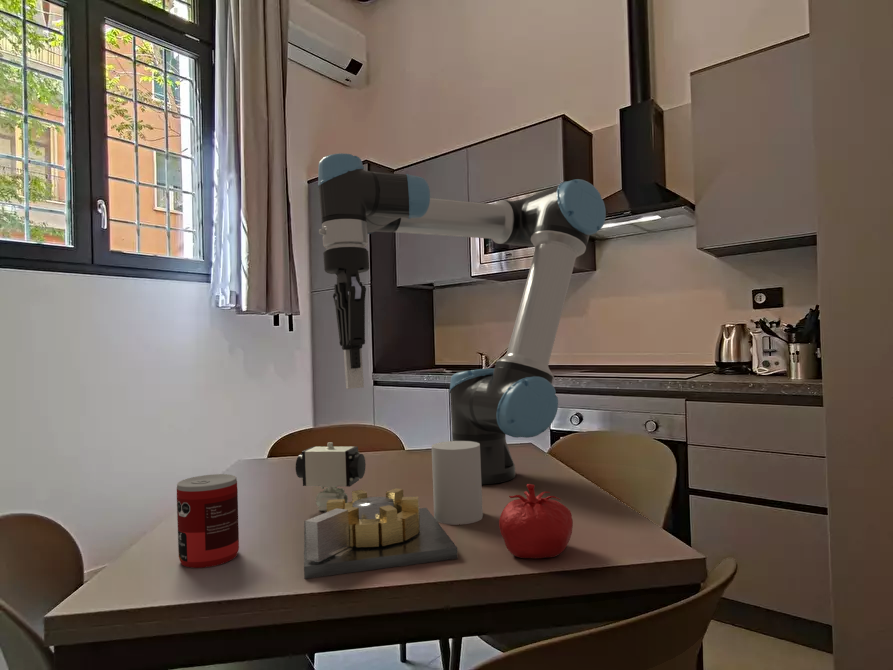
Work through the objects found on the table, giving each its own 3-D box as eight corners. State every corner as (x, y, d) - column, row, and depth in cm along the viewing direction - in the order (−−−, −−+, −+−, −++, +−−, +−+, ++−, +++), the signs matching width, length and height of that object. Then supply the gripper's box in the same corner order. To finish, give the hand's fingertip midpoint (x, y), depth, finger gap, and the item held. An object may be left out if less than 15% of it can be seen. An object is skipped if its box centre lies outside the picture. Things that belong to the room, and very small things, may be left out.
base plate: (426, 516, 96) (425, 480, 96) (457, 558, 76) (455, 513, 76) (304, 530, 91) (303, 492, 91) (304, 578, 71) (302, 530, 71)
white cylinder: (488, 511, 97) (485, 441, 98) (474, 526, 90) (472, 450, 90) (443, 508, 100) (441, 440, 100) (427, 522, 92) (424, 448, 93)
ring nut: (366, 513, 93) (365, 482, 93) (436, 523, 86) (435, 490, 86) (275, 552, 76) (274, 515, 76) (353, 569, 69) (352, 528, 69)
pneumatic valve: (358, 513, 99) (356, 444, 99) (296, 512, 101) (294, 444, 101) (369, 504, 104) (366, 439, 104) (309, 503, 106) (307, 439, 107)
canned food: (190, 550, 83) (188, 475, 83) (245, 546, 84) (243, 472, 84) (169, 571, 76) (166, 488, 76) (230, 566, 76) (228, 484, 77)
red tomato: (575, 568, 72) (573, 495, 72) (496, 564, 74) (494, 493, 74) (571, 539, 82) (570, 475, 82) (502, 537, 84) (500, 474, 84)
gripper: (316, 255, 100) (325, 387, 100) (331, 241, 88) (342, 392, 88) (357, 254, 103) (366, 383, 103) (378, 242, 91) (388, 387, 91)
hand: (355, 387), depth 96 cm, fingers closed
